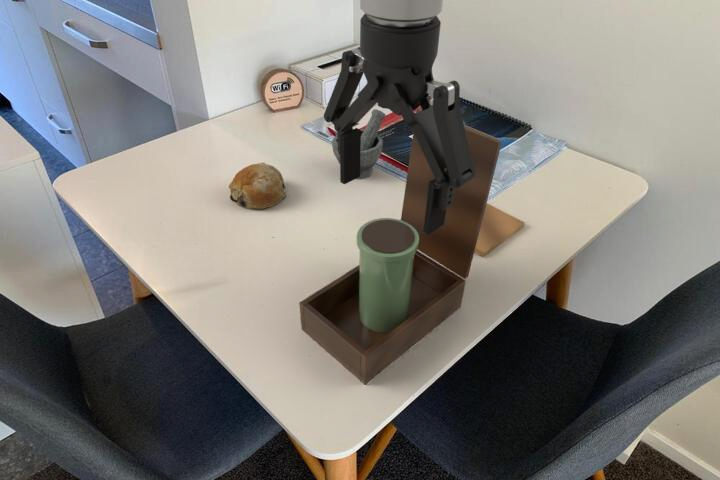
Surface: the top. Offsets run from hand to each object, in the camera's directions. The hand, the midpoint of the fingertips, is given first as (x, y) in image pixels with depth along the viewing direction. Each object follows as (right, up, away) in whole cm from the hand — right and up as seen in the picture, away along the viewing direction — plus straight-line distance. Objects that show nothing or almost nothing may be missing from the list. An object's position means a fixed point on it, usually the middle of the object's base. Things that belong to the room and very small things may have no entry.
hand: (389, 202), depth 62 cm
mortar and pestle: (-3, +10, +44) cm, 45 cm away
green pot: (0, -15, +12) cm, 19 cm away
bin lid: (+7, +1, +8) cm, 11 cm away
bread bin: (0, -16, +12) cm, 20 cm away
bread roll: (-22, +4, +36) cm, 42 cm away
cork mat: (+17, -2, +30) cm, 34 cm away
